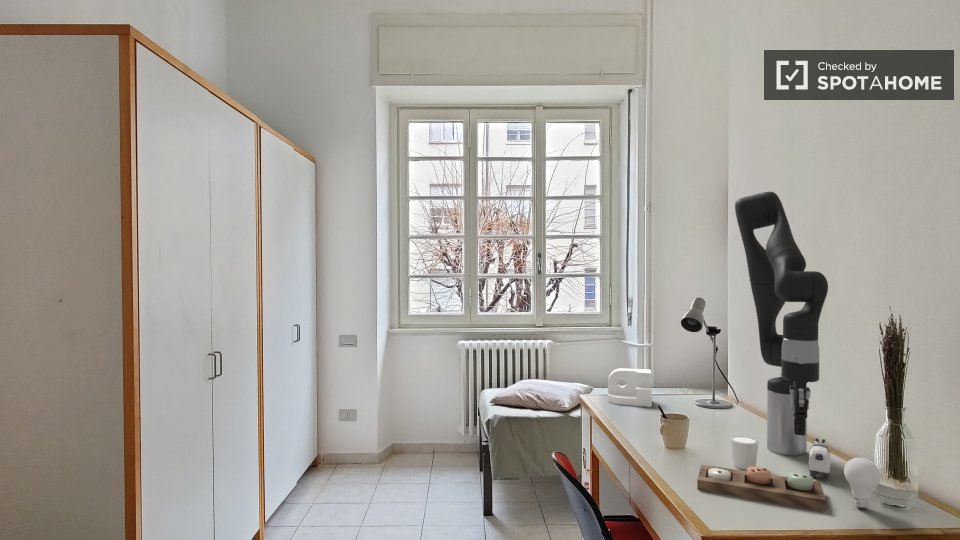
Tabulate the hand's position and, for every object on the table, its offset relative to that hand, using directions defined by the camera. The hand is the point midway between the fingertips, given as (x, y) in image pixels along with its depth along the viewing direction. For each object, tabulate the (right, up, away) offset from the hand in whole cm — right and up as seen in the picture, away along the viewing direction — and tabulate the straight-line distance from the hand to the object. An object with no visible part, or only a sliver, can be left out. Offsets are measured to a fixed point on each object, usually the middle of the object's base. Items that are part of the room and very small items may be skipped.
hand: (799, 434), depth 129 cm
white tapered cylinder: (-3, -15, +20) cm, 25 cm away
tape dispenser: (-16, -14, +86) cm, 89 cm away
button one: (-15, -14, +8) cm, 22 cm away
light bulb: (+11, -15, -5) cm, 19 cm away
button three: (-8, -12, +4) cm, 14 cm away
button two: (0, -12, 0) cm, 12 cm away
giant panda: (+14, -15, +16) cm, 26 cm away
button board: (-7, -15, +4) cm, 17 cm away
